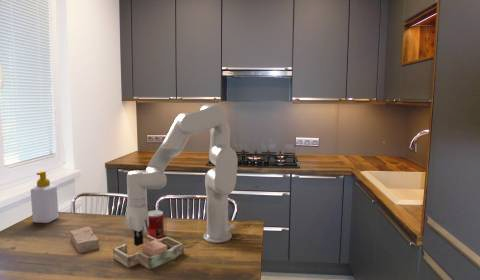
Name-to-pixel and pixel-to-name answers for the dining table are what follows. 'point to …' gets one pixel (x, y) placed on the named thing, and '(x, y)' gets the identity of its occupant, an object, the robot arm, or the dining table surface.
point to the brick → (84, 239)
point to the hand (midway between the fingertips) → (138, 244)
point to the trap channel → (150, 262)
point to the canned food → (155, 224)
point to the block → (153, 248)
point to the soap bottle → (44, 200)
